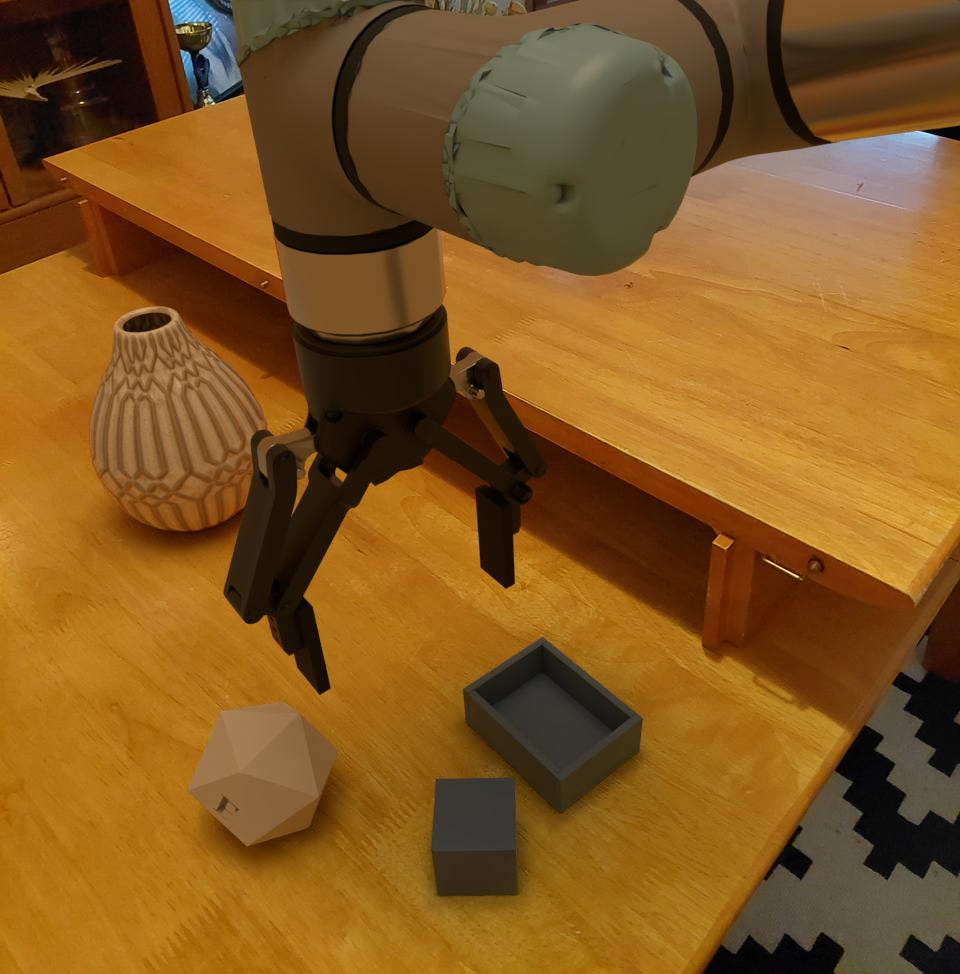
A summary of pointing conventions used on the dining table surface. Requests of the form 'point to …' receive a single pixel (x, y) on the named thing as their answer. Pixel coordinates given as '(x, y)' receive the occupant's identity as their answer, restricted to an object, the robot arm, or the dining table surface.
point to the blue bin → (552, 722)
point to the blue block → (475, 836)
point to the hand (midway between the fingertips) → (410, 624)
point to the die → (263, 771)
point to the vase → (172, 425)
